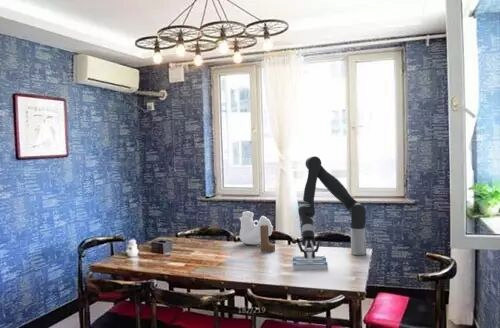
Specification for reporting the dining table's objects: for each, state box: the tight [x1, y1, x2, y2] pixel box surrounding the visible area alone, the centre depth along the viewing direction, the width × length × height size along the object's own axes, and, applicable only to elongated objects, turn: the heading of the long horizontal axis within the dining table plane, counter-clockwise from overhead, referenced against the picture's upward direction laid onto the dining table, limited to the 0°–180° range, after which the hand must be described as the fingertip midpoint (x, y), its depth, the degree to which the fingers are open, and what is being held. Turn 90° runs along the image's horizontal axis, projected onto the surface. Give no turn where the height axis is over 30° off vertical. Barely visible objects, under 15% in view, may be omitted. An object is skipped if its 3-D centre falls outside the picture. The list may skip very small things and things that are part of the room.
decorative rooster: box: [238, 210, 274, 246], centre depth 308 cm, size 25×16×25 cm, turn 67°
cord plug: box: [306, 248, 313, 263], centre depth 248 cm, size 4×4×9 cm
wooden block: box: [260, 225, 276, 253], centre depth 287 cm, size 9×4×18 cm, turn 66°
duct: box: [292, 255, 329, 271], centre depth 253 cm, size 20×20×4 cm
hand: (309, 257), depth 246 cm, fingers closed on cord plug, 3 cm apart
